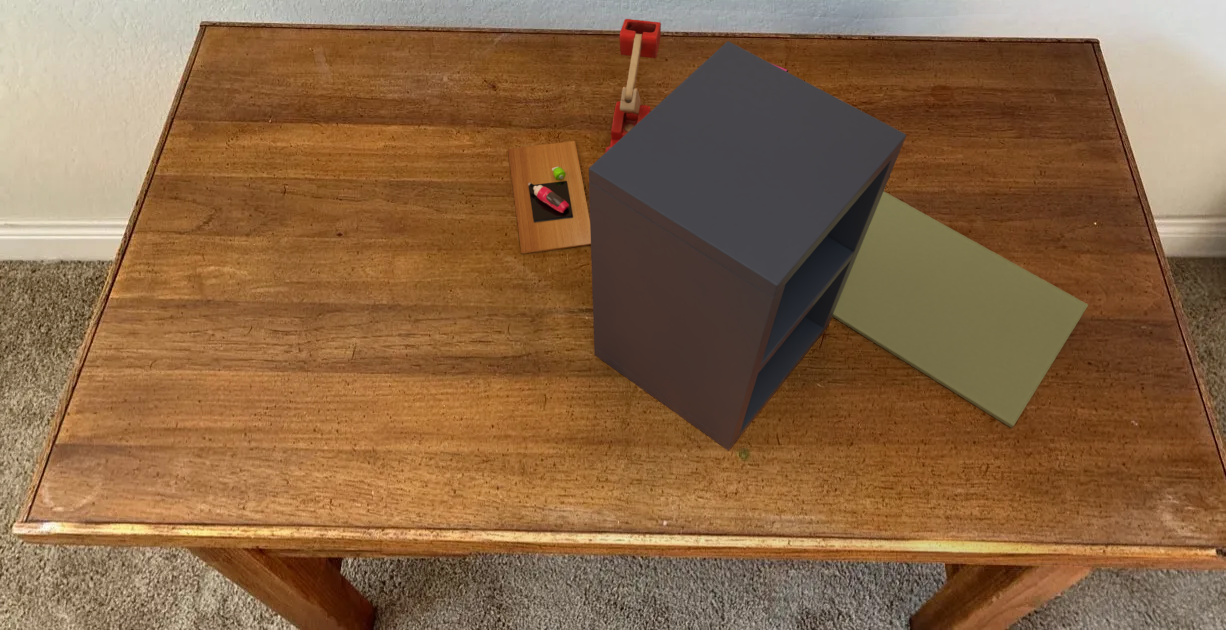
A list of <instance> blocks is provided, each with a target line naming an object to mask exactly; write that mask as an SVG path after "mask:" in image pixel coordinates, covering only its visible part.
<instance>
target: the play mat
mask: <svg viewBox="0 0 1226 630" xmlns="http://www.w3.org/2000/svg"><path fill="white" fill-rule="evenodd" d="M1088 307H1089V304H1088V303H1086V302H1084V300H1083V301H1082V300H1081V299H1079V298H1077V297H1076V296H1074V295H1072V294H1070V293H1069V292H1066V291H1064V290H1063V289H1061V288H1060V287H1058V286H1055V285H1054V284H1052V283H1050V282H1049V281H1046V280H1045V279H1043V278H1041V277H1039V276H1037V275H1036V274H1034V273H1032V272H1030V271H1029V270H1027V269H1025V268H1023V267H1022V266H1019V265H1018V264H1016V263H1014V262H1012V261H1011V260H1008V259H1007V258H1005V257H1003V256H1001V255H999V254H998V253H996V252H994V251H992V250H990V249H989V248H987V247H985V246H984V245H981V244H980V243H978V242H976V241H974V240H972V239H971V238H969V237H967V236H965V235H963V234H962V233H960V232H958V231H956V230H954V229H953V228H951V227H949V226H947V225H945V224H943V223H942V222H940V221H938V220H937V219H934V218H933V217H931V216H929V215H928V214H926V213H924V212H922V211H921V210H919V209H917V208H915V207H913V206H912V205H910V204H908V203H906V202H904V201H902V200H900V199H899V198H898V197H895V196H894V195H891V194H890V193H888V192H886V191H885V190H884V191H883V194H882V196H881V199H880V201H879V204H878V206H877V208H876V211H875V213H874V216H873V218H872V221H871V223H870V225H869V228H868V230H867V233H866V235H865V238H864V240H863V242H862V245H861V247H860V250H859V252H858V255H857V257H856V259H855V262H854V264H853V267H852V269H851V272H850V274H849V276H848V279H847V281H846V284H845V286H844V289H843V291H842V293H841V296H840V298H839V301H838V303H837V306H836V308H835V310H834V313H833V315H832V318H834V319H835V320H837V321H839V322H841V324H844V325H845V326H847V327H848V328H850V329H852V330H853V331H855V332H856V333H858V334H860V335H861V336H863V337H864V338H866V339H868V340H869V341H871V342H872V343H874V344H876V345H877V346H879V347H880V348H882V349H884V350H885V351H887V352H888V353H890V354H891V355H893V356H895V357H897V358H898V359H899V360H901V361H903V362H905V363H906V364H908V365H909V366H911V367H913V368H914V369H916V370H917V371H919V372H921V373H922V374H924V375H925V376H927V377H929V378H930V379H932V380H934V381H935V382H936V383H938V384H940V385H942V386H943V387H945V388H947V389H948V390H950V391H951V392H952V393H955V394H956V395H958V396H959V397H961V398H962V399H964V400H966V401H967V402H969V403H971V404H972V405H973V406H976V407H977V408H979V409H980V410H982V411H983V412H985V413H987V414H988V415H990V416H991V417H993V418H995V420H998V421H999V422H1001V423H1003V424H1004V425H1006V426H1008V427H1009V428H1010V429H1012V428H1014V426H1015V424H1016V423H1017V422H1018V420H1019V418H1020V416H1021V415H1022V413H1024V410H1025V409H1026V407H1027V406H1028V404H1029V403H1030V400H1031V399H1032V397H1033V395H1034V394H1035V392H1037V389H1038V388H1039V386H1040V384H1041V382H1042V381H1043V379H1044V378H1045V377H1046V374H1047V373H1048V372H1049V370H1050V368H1051V366H1052V365H1053V364H1054V361H1055V360H1056V358H1057V357H1058V355H1059V353H1060V352H1061V351H1062V349H1063V347H1064V345H1065V343H1066V342H1067V340H1068V339H1069V338H1070V336H1071V334H1072V333H1073V331H1074V329H1075V327H1076V326H1077V325H1078V322H1079V321H1080V319H1081V318H1082V317H1083V314H1085V311H1086V310H1087V308H1088Z"/></svg>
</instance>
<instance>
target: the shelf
mask: <svg viewBox="0 0 1226 630" xmlns="http://www.w3.org/2000/svg"><path fill="white" fill-rule="evenodd" d="M773 64H774V63H772V62H769V61H767V60H765V59H763V58H762V57H760V56H758V55H755V53H752V52H750V51H749V50H747V49H744V48H742V47H741V46H739V45H737V44H735V43H732V42H730V41H729V40H727V41H726V42H724V44H723V45H721V47H720V48H718V49H717V50H716V51H715V52H714V53H713V54H711V55H710V56H709V57H708V58H707V59H706V60H705V61H704V62H703V63H702V64H701V65H700V66H699V67H697V68H696V69H695V70H694V71H693V72H692V73H691V74H689V76H688V77H687V78H685V79H684V80H683V81H682V82H681V83H680V84H679V85H678V86H677V87H676V88H675V89H673V90H672V91H671V92H670V93H669V94H668V95H667V96H666V97H664V98H663V100H661V101H660V102H659V103H657V105H656V106H655V107H654V108H653V109H652V110H650V113H648V114H647V115H646V116H645V117H644V118H643V119H642V120H641V121H640V122H639V123H638V124H636V125H635V126H634V127H633V128H632V129H631V130H630V131H629V132H628V133H627V134H626V135H624V136H623V137H622V138H621V139H620V140H619V141H618V142H617V143H616V144H615V145H613V146H612V147H611V148H610V149H609V150H608V151H607V152H606V153H605V152H604V154H603V155H601V156H600V157H599V158H598V159H597V160H596V161H595V162H594V163H593V164H592V165H590V166H589V167H588V194H589V195H588V196H589V197H588V198H589V218H590V231H591V245H590V257H591V258H590V259H591V287H592V290H591V291H592V320H593V321H592V323H593V344H594V345H593V352H594V356H596V357H597V358H598V359H600V360H601V361H602V362H604V363H605V364H606V365H608V366H609V367H611V368H612V369H613V370H615V371H616V372H618V373H619V374H621V375H622V376H623V377H625V379H628V380H629V381H631V382H632V383H633V384H634V385H635V386H637V387H638V388H640V389H642V391H644V392H645V393H647V394H649V395H650V396H651V397H652V398H654V399H655V400H656V401H659V403H661V404H662V405H663V406H665V407H667V408H668V409H670V410H671V411H672V412H674V413H675V414H677V415H678V416H679V417H681V418H682V419H683V420H685V421H686V422H688V423H689V424H690V425H691V426H693V427H695V428H696V429H698V430H699V431H700V432H702V433H703V434H705V436H707V437H709V438H710V439H711V440H713V441H714V442H716V444H718V445H719V446H721V447H723V448H724V449H725V450H727V451H728V452H729V451H730V450H732V448H733V447H734V445H735V444H736V443H737V442H738V440H739V439H740V438H741V437H742V435H743V434H744V433H745V432H746V430H748V428H749V427H750V426H751V424H752V423H753V422H754V420H755V419H756V418H757V416H758V415H759V414H760V413H761V412H762V410H763V409H764V408H765V406H766V405H767V404H768V403H769V401H770V400H771V399H772V398H773V396H774V395H775V394H776V393H777V391H778V390H779V389H780V388H781V386H782V385H783V384H784V382H786V380H787V379H788V378H789V376H790V375H791V374H792V373H793V371H794V370H795V369H796V367H798V366H799V364H800V363H801V361H802V360H803V359H804V357H806V355H807V353H808V352H809V351H810V350H811V349H812V347H813V346H814V345H815V344H816V342H817V341H818V340H819V339H820V337H821V336H822V335H823V333H824V332H825V331H826V330H827V328H828V327H829V326H830V323H831V321H832V318H833V317H832V315H833V313H834V310H835V308H836V306H837V303H838V301H839V298H840V296H841V293H842V291H843V289H844V286H845V284H846V281H847V279H848V276H849V274H850V272H851V269H852V267H853V264H854V262H855V259H856V257H857V255H858V252H859V250H860V247H861V245H862V242H863V240H864V238H865V235H866V233H867V230H868V228H869V225H870V223H871V221H872V218H873V216H874V213H875V211H876V208H877V206H878V204H879V201H880V199H881V196H882V194H883V191H884V192H885V189H886V187H887V184H888V182H889V179H890V177H891V174H892V172H893V170H894V167H895V165H896V162H897V160H898V157H899V155H900V153H901V150H902V147H903V145H904V142H905V140H906V138H907V134H906V133H904V132H903V131H901V130H899V129H898V128H895V127H893V126H891V125H889V124H888V123H885V122H883V121H882V120H880V119H878V118H876V117H874V116H872V115H870V114H868V113H867V112H864V111H863V110H861V109H859V108H857V107H855V106H853V105H851V104H849V103H847V102H845V101H844V100H842V99H840V98H838V97H836V96H834V95H833V94H830V93H828V92H826V91H825V90H823V89H821V88H818V87H817V86H815V85H813V84H811V83H810V82H808V81H805V80H803V79H802V78H800V77H797V76H796V75H794V74H792V73H790V72H789V71H788V72H786V71H784V70H782V69H781V68H779V67H780V66H779V67H777V66H778V65H777V66H775V65H776V64H774V65H773Z"/></svg>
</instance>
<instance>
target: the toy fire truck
mask: <svg viewBox="0 0 1226 630" xmlns="http://www.w3.org/2000/svg"><path fill="white" fill-rule="evenodd" d="M661 31H662V23H661V22H660V21H652V20H651V21H649V20H640V19H631V18H625V19H624V20H623V23H622V26H621V29H620V31H619V39H618V40H619V50H620V52H619V53H620V55H621V56H624V57H625V56H626V57H627V56H629V57H630V62H629V69H628V76H627V80H626V86H623V87H622V89H621V96H620V101H618V100H617V101H616V103H615V107H614V112H613V118H612V122H611V123H612V124H611V128H610V129H611V130H610V142H609V146H607V147H605V151H604V154H605V153H606V152H607V151H608V150H609V149H610V148H611V147H612V146H613V145H615V144H616V143H617V142H618V141H619V140H620V139H621V138H622V137H623V136H624V135H626V134H627V133H628V132H629V131H630V130H631V129H632V128H633V127H634V126H635V125H636V124H638V123H639V122H640V121H641V120H642V119H643V118H644V117H645V116H646V115H647V114H648V113H650V112H651V106H650V105H646V104H642V101H641V97H640V94H639V89H638V88H637V87H636V84H637V77H638V71H639V64H640V58H647V59H648V58H650V59H657V57H658V52H659V48H660V42H661V38H662V35H661V33H662V32H661Z"/></svg>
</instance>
